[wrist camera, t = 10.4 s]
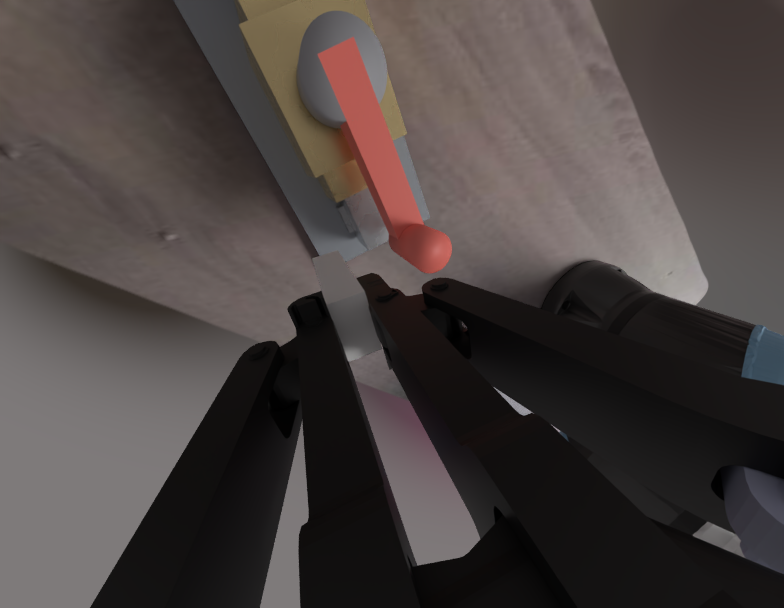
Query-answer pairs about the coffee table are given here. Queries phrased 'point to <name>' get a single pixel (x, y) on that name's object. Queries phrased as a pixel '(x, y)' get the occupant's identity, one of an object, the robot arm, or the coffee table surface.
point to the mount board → (277, 128)
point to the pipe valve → (306, 134)
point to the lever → (365, 126)
